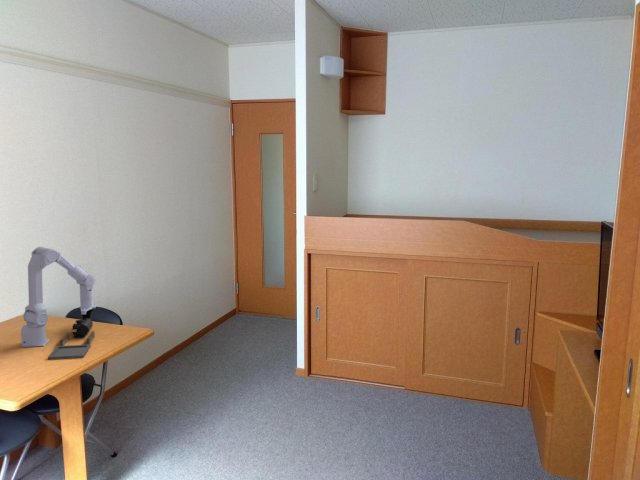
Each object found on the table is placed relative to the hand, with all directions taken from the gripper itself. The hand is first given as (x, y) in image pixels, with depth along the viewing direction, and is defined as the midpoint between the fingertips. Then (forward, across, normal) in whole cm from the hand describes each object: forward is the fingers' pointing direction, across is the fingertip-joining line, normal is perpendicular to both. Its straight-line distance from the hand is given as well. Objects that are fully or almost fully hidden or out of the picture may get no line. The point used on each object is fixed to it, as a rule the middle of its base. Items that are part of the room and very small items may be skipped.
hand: (87, 324), depth 248 cm
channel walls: (+2, -20, 0) cm, 20 cm away
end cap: (+2, -10, 0) cm, 10 cm away
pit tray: (+2, -33, 0) cm, 33 cm away
